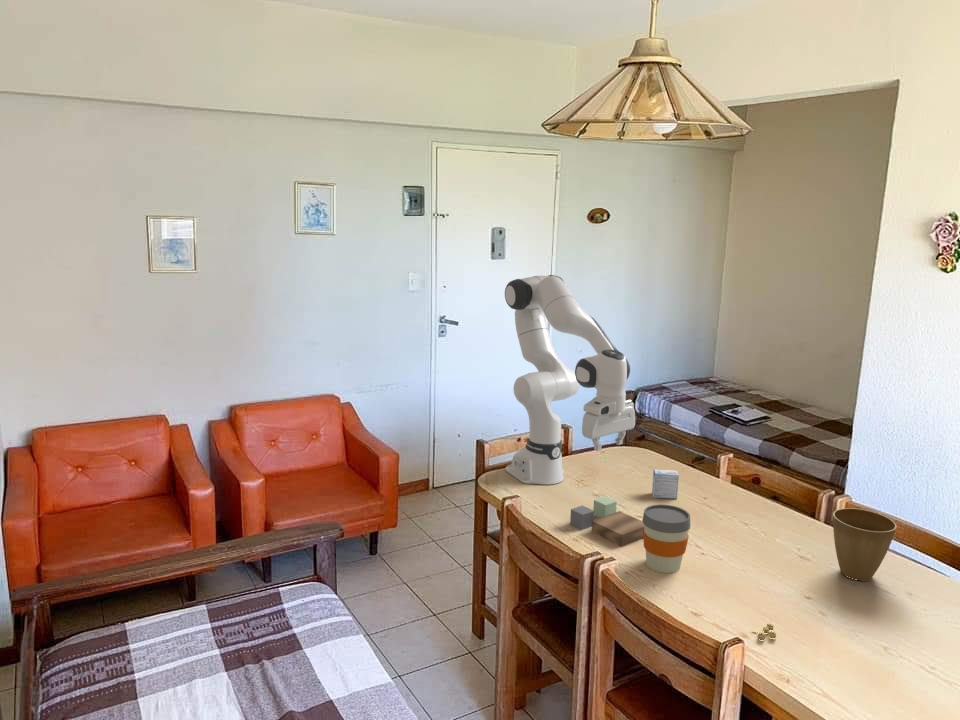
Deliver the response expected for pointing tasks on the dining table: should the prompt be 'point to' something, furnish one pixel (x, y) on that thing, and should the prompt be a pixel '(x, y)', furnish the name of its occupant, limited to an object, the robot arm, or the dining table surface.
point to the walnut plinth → (619, 528)
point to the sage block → (604, 506)
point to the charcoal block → (581, 517)
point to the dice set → (766, 629)
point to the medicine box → (665, 484)
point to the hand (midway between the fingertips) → (608, 447)
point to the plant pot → (861, 541)
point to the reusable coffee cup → (665, 537)
